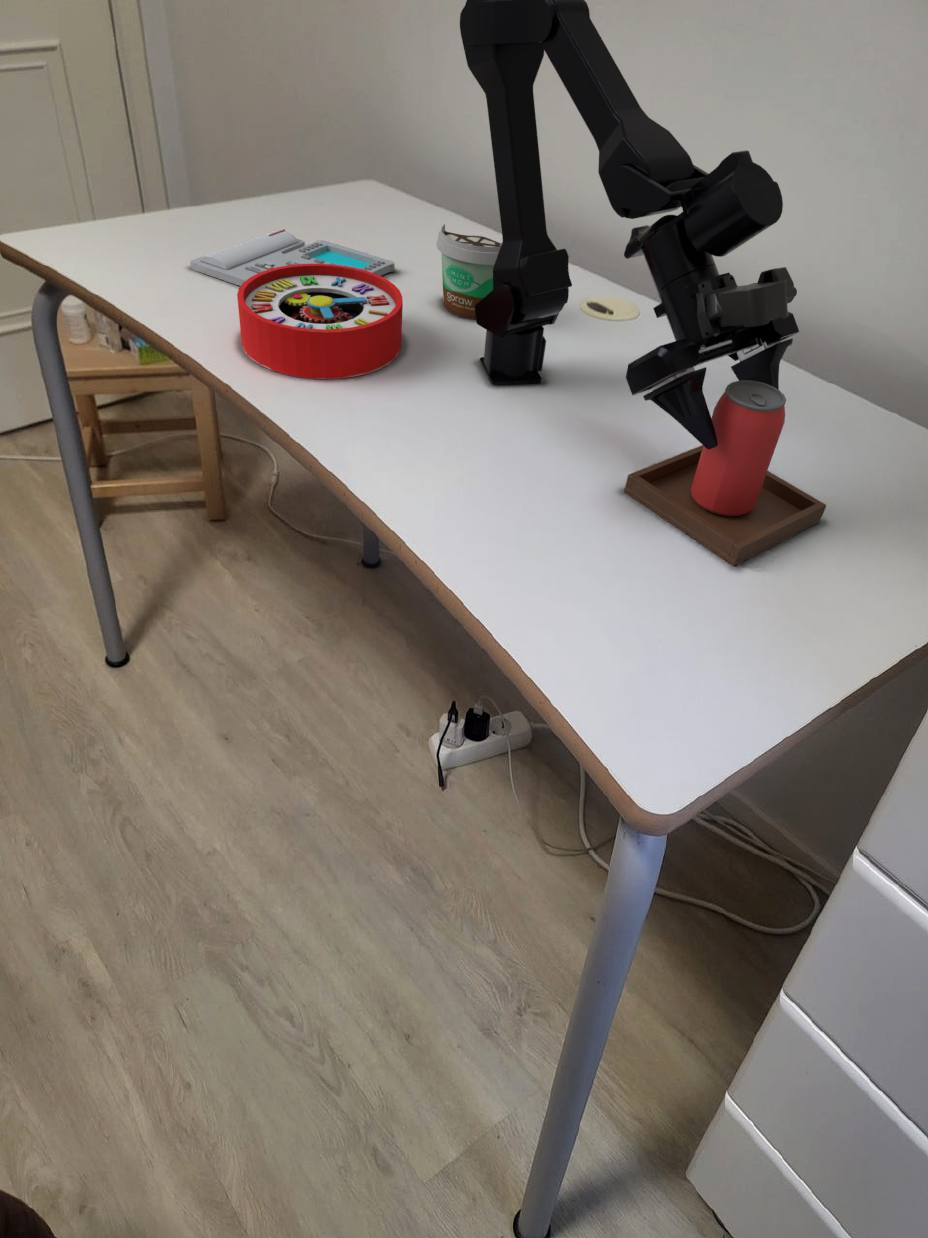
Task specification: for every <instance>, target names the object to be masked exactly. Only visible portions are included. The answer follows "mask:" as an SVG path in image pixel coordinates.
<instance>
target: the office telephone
mask: <svg viewBox="0 0 928 1238" xmlns="http://www.w3.org/2000/svg"><path fill="white" fill-rule="evenodd" d="M305 242H306V241H304V240H303V239H299V238H297V237H296V236H295V235H294V234H292V233H291V232H289V231H286V229H285V228H284V229H276V230H272V231H270V232H268V233H265V234H261V235H259V236H256V237H254V238H251V239H248V240H245V241H242V242H240V243H236V244H234V245H231V246H228V247H226V248H223V249H220V250H217V251H215V252H212V253H210V254H207V255H204V256H200V257H198V258H194V259H192V260H189V262H190V263H189V264H190V269H191V270H193V271H195V272H198V273H201V274H204V275H207V276H210V277H213V278H216V279H218V280H220V281H224V282H226V283H227V282H228V283H230V284H233V285H236V286H239V287H240V286H241V285H242V284H243V283H244V282H245V281H246V280H247V279H249V278H250V277H252V276H254V275H256V274H258V273H260V272H263V271H266V270H269V269H273V268H277V267H282V266H288V265H296V264H317V263H318V264H334V265H343V266H348V267H354V268H358V269H362V270H365V271H369V272H372V273H374V274H377V275H379V276H381V277H382V276H384V275H385V274H388V273H390V272H395V267H396V266H395V265H396V264H395V262H394V261H392V260H389V259H387V258H384V257H380V256H377V255H374V254H371V253H368V252H365V251H360V250H357V249H354V248H351V247H348V246H344V245H341V244H338V243H334V242H330V241H327V240H323V239H318V240H316V241H314V242H312V243H309V244H307V245H305Z"/></svg>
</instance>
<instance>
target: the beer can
mask: <svg viewBox="0 0 928 1238" xmlns="http://www.w3.org/2000/svg"><path fill="white" fill-rule="evenodd" d="M786 402H787V397H786V396H785V394H784V393H783V392H782V391H781V390H780V389H779V390H778V389H776V388H775V387H773V386H771V385H768V384H766V383H762V382H758V381H751V380H736V381H732V382H730V383H729V384H727V386H726V387H725V389H724V392H723V393H722V395H721V396H720V397H719V399H718V400H717V402H716V404H715V406H714V408H713V412H712V414H711V419H712V422H713V425H714V428H715V432H716V437H717V441H718V446H717V447H715V448H712V449H707V448H706V447H705V446H703V449H702V452H701V456H700V459H699V463H698V466H697V470H696V473H695V477H694V480H693V484H692V487H691V493H692V497H693V499H694V500H695V502H696V503H697V504H698V505H699V506H701V507H702V508H703V509H705V510H707V511H709V512H711V513H714V514H717V515H720V516H728V517H732V516H741V515H744V514H747V513H749V512H750V511H751V510H752V509H753V508H754V507H755V505H756V502H757V499H758V496H759V493H760V490H761V488H762V485H763V482H764V479H765V476H766V473H767V471H769V467H770V465H771V462H772V459H773V456H774V454H775V450H776V447H777V445H778V441H779V439H780V436H781V434H782V430H783V428H784V425H785V421H786V409H785V408H786V406H785V405H786Z"/></svg>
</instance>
